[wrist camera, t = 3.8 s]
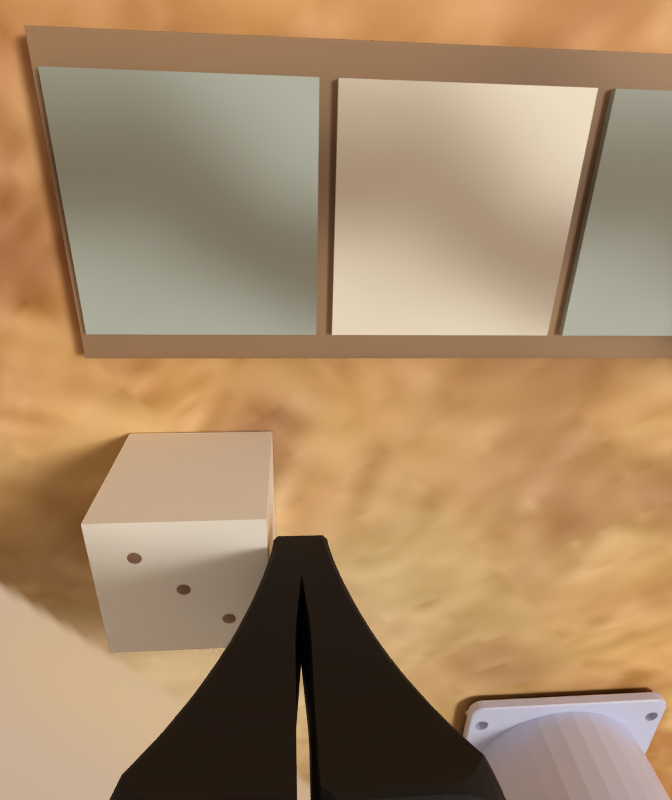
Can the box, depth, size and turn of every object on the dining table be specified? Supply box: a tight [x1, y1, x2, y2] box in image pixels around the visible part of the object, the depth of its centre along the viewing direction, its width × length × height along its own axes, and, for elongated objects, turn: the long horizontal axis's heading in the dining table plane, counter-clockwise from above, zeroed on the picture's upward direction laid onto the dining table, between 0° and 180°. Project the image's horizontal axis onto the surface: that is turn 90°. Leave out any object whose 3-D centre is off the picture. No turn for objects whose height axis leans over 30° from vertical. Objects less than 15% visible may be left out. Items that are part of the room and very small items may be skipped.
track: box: [24, 25, 672, 358], centre depth 13 cm, size 7×24×1 cm, turn 88°
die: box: [81, 431, 276, 653], centre depth 15 cm, size 4×4×4 cm
